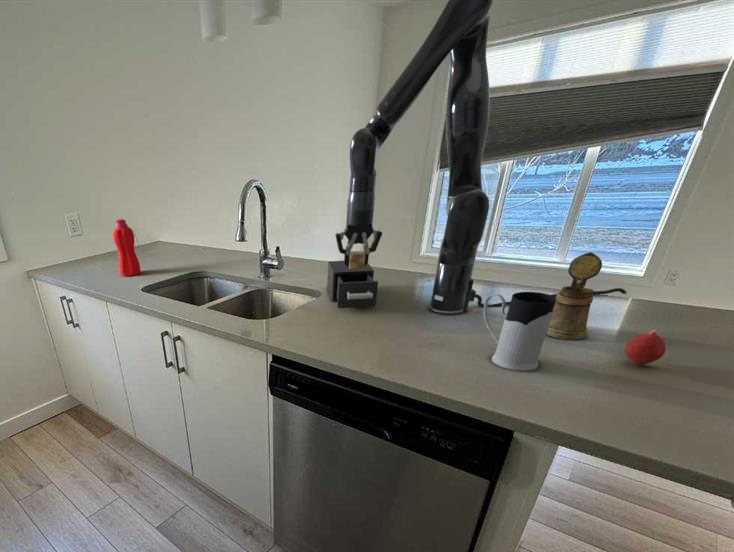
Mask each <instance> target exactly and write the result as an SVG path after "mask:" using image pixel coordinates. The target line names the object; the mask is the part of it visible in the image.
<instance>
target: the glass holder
mask: <svg viewBox="0 0 734 552" xmlns="http://www.w3.org/2000/svg"><path fill="white" fill-rule="evenodd" d="M552 295H553V294H548V293H545V292H538V291H520V292H515V293H513V294H512V296H511V299H510V301H509V302H510V305H508V310H507V313H505V309H506V305H505V302H506V299H505V298H504V296H502V295H501V294H500V293H494V294H490V295H488V297H486V299H485V301H484V303H483V304H484V307H483V320H484V323H485V326H486V327H487V329H488V331H489V332H490V334H491V335H492V337H493V338H494V339H495V341H496V344H497V346H496V350H495V352H494V354H493V355H492V357H491V361H492V363H493V364H495V365H497V366H498V367H501V368H504V369H507V370H512V371H519V372H521V371H522V372H529V371H534V370H536V369H538V367H539V360H538V359H539V356H540V354H541V350H542V348H543V345H544V342H545V339H546V336H547V334H546V333H547V330H548V327H549V324H550V321H551V318H552V315H553V313H552V312H553V309H554V306H555V303H556V300H557V299H556V297H554V296H552ZM492 297H498V298H499V299H500V300H501V303H502V306H501V310H500V314H501V315H502V316H503V317H504V322H503V324H502V327H501V331H500V335H499V337H498V336H497V334H496V333H495V332H494V330H493V328H492V326H491V324H490V322H489V319H488V318H489V317H488V312H487V311H488V307H487V305H489V304H488V303H489V300H490V298H492Z"/></svg>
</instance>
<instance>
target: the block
mask: <svg viewBox="0 0 734 552" xmlns="http://www.w3.org/2000/svg"><path fill="white" fill-rule="evenodd" d="M349 255H350V260H349V269H359V268H364V263H365V253H364V250H353V251H350V254H349Z"/></svg>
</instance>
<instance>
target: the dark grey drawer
mask: <svg viewBox="0 0 734 552" xmlns="http://www.w3.org/2000/svg"><path fill="white" fill-rule="evenodd" d="M378 287H379V281H378V280H374V278H373V279H372V278H371V276H370V275H369V274H348V275H336V287H335V295H336V298H337V300H338V301H336V302H337V303H336V307H337V309H350V308H352V309H353V308H373V307H374V308H376V307H377V306H376V305H377V297H378V289H379V288H378Z"/></svg>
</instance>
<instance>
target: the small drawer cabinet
mask: <svg viewBox="0 0 734 552" xmlns="http://www.w3.org/2000/svg"><path fill="white" fill-rule="evenodd" d="M348 274H369V275H370V276H371V278H372V279H373V280H374V274H375V270H374V269H373V267H372V266H371V265H370V264H369V263H368V264H366V266H364V268H359V269H349V267H346V265H345V264H344V260H329V261H328V262H327V279H326V280H327V283H326V284H327V285H326V289H327V292H328V294H329V297H330V300H331V302H337V301H338V300H337V298H336V295H335V287H336V275H348Z"/></svg>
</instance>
